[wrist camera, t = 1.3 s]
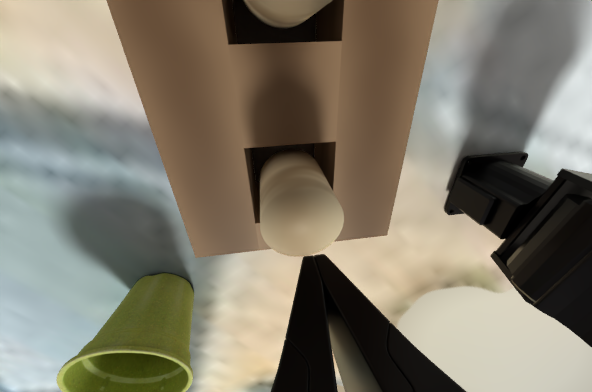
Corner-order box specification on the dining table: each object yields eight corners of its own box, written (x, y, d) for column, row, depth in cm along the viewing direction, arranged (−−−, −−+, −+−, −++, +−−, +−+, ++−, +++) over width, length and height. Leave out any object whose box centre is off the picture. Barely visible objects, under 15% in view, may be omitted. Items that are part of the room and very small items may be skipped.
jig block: (398, -126, 13) (493, -250, 8) (358, 195, 23) (387, 235, 18) (119, -138, 11) (2, -298, 6) (210, 209, 22) (195, 257, 16)
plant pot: (137, 246, 23) (78, 339, 15) (225, 279, 26) (212, 366, 19) (103, 301, 26) (41, 401, 18) (187, 324, 30) (163, 413, 22)
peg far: (321, 146, 15) (347, 184, 10) (320, 201, 17) (341, 251, 12) (256, 151, 14) (255, 192, 10) (263, 206, 16) (264, 260, 12)
